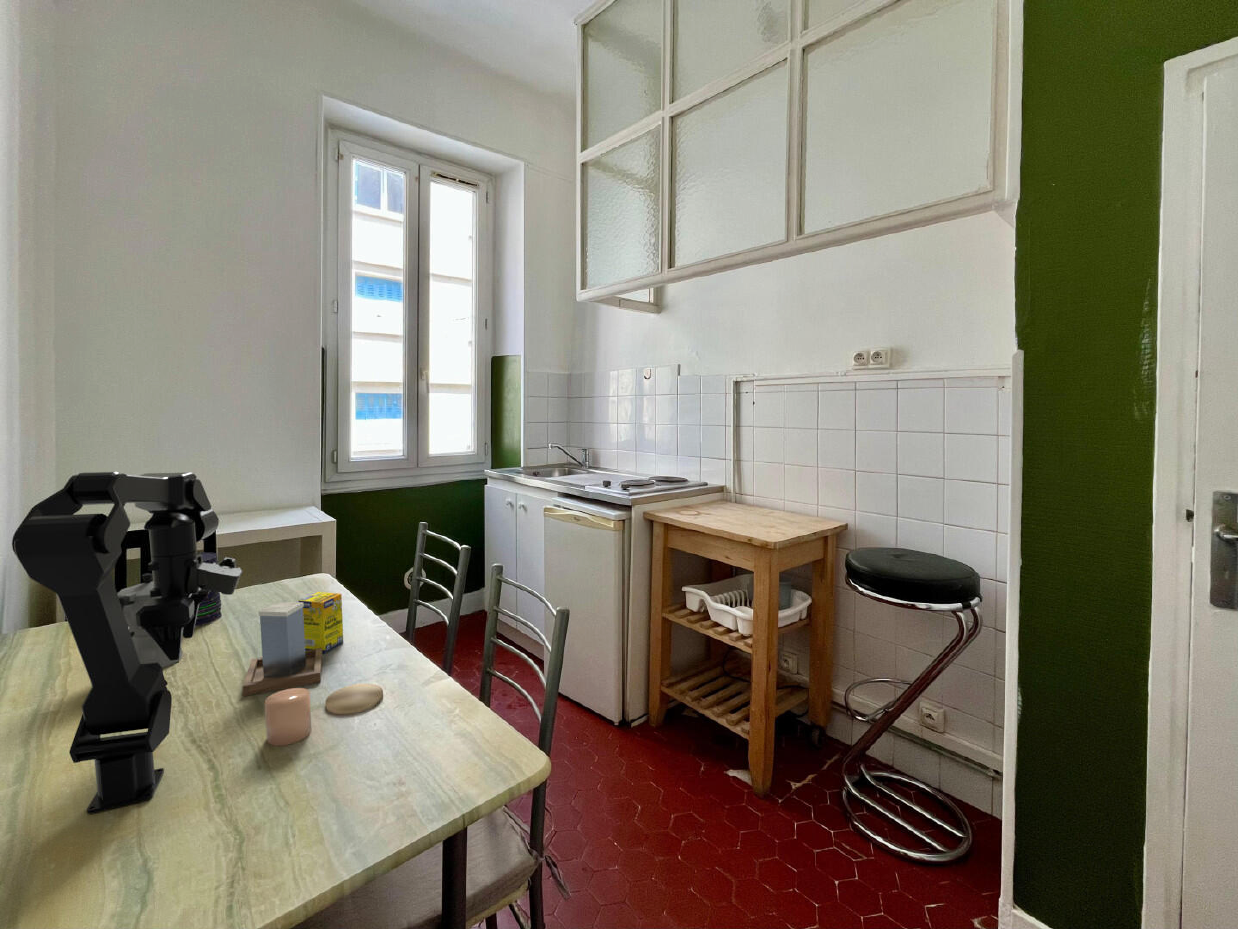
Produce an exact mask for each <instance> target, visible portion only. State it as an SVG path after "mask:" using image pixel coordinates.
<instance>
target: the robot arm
mask: <svg viewBox="0 0 1238 929" xmlns="http://www.w3.org/2000/svg"><path fill="white" fill-rule="evenodd" d="M126 504H134V507H135V508H138V509H141V510H142V511H143V510H144V511H147V512H148V513H149V514H152V515H151V517H150V518H149V519H148V520H147V521H146V522H145V524H144V526H143V529H144V530H145V531H148V533H149V534H148V537H149V545H150V546H149V548H150V560H151V561H150V562H149V563H148V564H147V572H152V582H153V584H154V588H153V589H152V590H151V591H150V598H151V597H160V596H161V598H157V599H150V600H149V601H148V602H147V603H146V604H144V605H143V606H142V607H141V609H140V610H139V611H138V612H137V613H136V623H137V626H139V627H141V628H142V629H145V631H146V632H147V633H148V634H149V635H150V636H151V637H152V638H153V639H154V641H155V642H156V643H157V644H158V646H159V647H160V648H161V649H162V651H163V652H164V653H165V654H166V656H167V657H168V658H169V660H171V661H173V660H178V659H179V658H180V651H181V649H182V643H183V642H182V641H183V638H184V639H191V638H193V637H194V633H195V627H196V626H195V623H196V618H197V613H198V608H199V604H200V602H201V601H202V600H203V599H204V598H205V597H206V596H207V595H208V594H209V592H210V591H216V592H219V593H220V594H222V595H226V596H228V595H229V596H231V595H233V594H234V592H235V591H236V589H237V587H238V584H239V581H240V578H241V576H242V573H243V570H242V568H241V567H238V566H237V561H236V559H235V558H231V557H227V556H226V557H224V558H223V559H222V560H220V562H218V565H217V564H216V563H213V564H209V563H203V556H202V555H200V553H201V552H198V545H197V543H198V542H200V541H202V540H204V539H206V538H209V536H211V535H212V534H213V533H215V532H216V530H217V529H218V527H219V524H220V523H219V522H220V520H219V517H218V515H217V514H216V512H215V511H214V510H213V509H212V505H211V502H210V500H209V497H208V496H207V493H206V490H205V488H204V486H203V484H202V481H201V480H200V479H197V475H196V474H195V473H193V472H190V471H189V472H157V473H156V472H155V473H154V472H153V473H143V474H139V475H135V474H125V473H120V472H119V471H99V472H96V471H95V472H94V471H92V472H87V471H86V472H80V473H78V474H73V475H72V476H70V478H69V479H68V480H67V482H66V483H65V485H64V486H63V488H61V489H59V490H58V491H57V492H55V493H53V494H51V495H50V496H48V497H46V498H45V499H43V500H42V501H40V502H38V503H37V504H35V505H34V506H33V507H31V508H30V510H29V511H28V513H26V514H27V515H26V516H25V517H24V519H23V520H22V522H21V523H20V525H19V526H18V527H17V529H16V530H15V531H14V534H13V536H12V538H11V539H12V541H11V547H12V551H13V552H14V555H15V556H16V558H17V560H18V562H19V563H20V564H21V566H22V568H23V569H24V570H23V571H25V572H26V574H27V575H28V578H30V579H31V580H32V581H34V582H36V583H38V584H39V585H41V586H42V587H45V588H47V589H48V590H50V591H52V592H53V593H55V594H56V596H57V598H58V600H59V603H60V606H61V608H62V611H63V613H64V616H65V618H66V621H67V624H68V626H69V629H70V631H71V634H72V637H73V639H74V641H75V645H76V648H77V649H78V652H79V655H80V658H81V660H82V662H83V665H84V668H85V672H86V674H87V676H88V679H89V681H90V685H91V688H90V690H89V692H88V694H87V696H86V697H85V699H84V701H83V703H82V704H81V712H82V714H81V717H80V721H79V722H78V726H77V729H76V731H75V734H74V736H73V737H74V738H73V740H72V743H71V746H70V749H69V752H68V753H69V756H70V758H71V761H72V762H73V764H77V763H80V762H85V761H94V769H95V779H96V790H97V792H96V794H95V795H94V797H93V798H92V800H91V801H90V803H89V805H88V806H87V808H86V813H87V814H93V813H98V812H102V811H105V810H110V809H115V808H119V807H123V806H128V805H132V804H136V803H140V802H145V801H148V800H150V799H152V798H153V797H154V795H155V792H156V791H157V788H158V786H159V784H160V782H161V779H162V778H163V776H164V773H165V768H161V767H160V768H156V769H155V763H154V762H155V761H154V752H155V751H156V749H157V748H158V747H159V746H160V744H162V742H163V741H164V740H165V739H166V737H167V736H168V735H169V734H170V726H171V716H172V715H171V714H172V701H173V700H172V699H173V698H172V694H171V691H170V690H168V687H167V686H168V684H169V683H168V681H167V680H166V679H165V676H164V672H163V668H162V667H161V666H160V665H159V664H158V663H149V664H141V663H140V661H139V658H138V655H137V652H136V649H135V646H134V643H133V640H132V637H131V634H130V631H129V627H128V625H127V622H126V619H125V616H124V613H123V610H122V607H121V604H120V601H119V598H118V595H117V594H118V592H117V589H116V586H115V583H114V580H113V578H112V577H113V576H112V571H113V569H114V568H115V565H116V564H117V563H118V562H117V561H119V558H120V556H121V554H122V552H123V551H122V547H121V546H122V545H121V544H122V542H123V540H124V538H125V537H126V534H127V533H128V532H129V529H130V527H131V521H130V519H129V516H128V514H127V512H126V510H125V505H126ZM91 505H93V506H94V505H97V506H98V505H113V506H112V508H111V509H110V512H109V513H108V514H107V515H106V514H104V513H83V514H81V513H80V514H76V513H78V512H79V511H80V510H81V509H82V508H83V506H91ZM200 588H201V589H204V590H200ZM141 730H142V731H143V730H147V731H143V732H142V731H141ZM133 731H141V732H134V733H128V734H120V735H119V734H118V733H126V732H133ZM111 734H118V735H111ZM103 735H111V736H105V737H104V736H103ZM101 736H103V737H101Z"/></svg>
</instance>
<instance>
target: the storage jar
mask: <svg viewBox="0 0 1238 929" xmlns="http://www.w3.org/2000/svg"><path fill="white" fill-rule="evenodd" d="M199 553H200V555H202V556H203V563H209V564H213V563H216V564H217V565H218V564H219V560H218V553H216V552H199ZM200 590H204V589H201V588H200ZM221 610H222V600H221V592H216V591H210V592H209V594H208V595H207V596H206V597H205V598H204V599H203V600H202V601H201V602H200V604H199V608H198V613H197V618H196V623H195V627H198V626H204V625H207V624H210V623H214V622H216V621H217V620H219V619H220V618H222V616H223V615H222V612H221Z"/></svg>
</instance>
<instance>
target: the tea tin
mask: <svg viewBox="0 0 1238 929" xmlns="http://www.w3.org/2000/svg"><path fill="white" fill-rule="evenodd" d="M303 607H304V603H303V602H297V601H295V602H294V601H276V602H275V603H272V604H270V605H268V606H267V607H265V608H263V609H261V610H259V611H258V616H259V620H260V621H259V622H260V623H259V625H260V641H261V656H262V658H263V674H264V678H280V677H286V676H291V675H295V674H297V673H298V672H299V671H300V670H302V669H303V668H304V667H306V655H305V637H304V619H303Z"/></svg>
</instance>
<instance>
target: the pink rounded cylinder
mask: <svg viewBox="0 0 1238 929" xmlns="http://www.w3.org/2000/svg"><path fill="white" fill-rule="evenodd" d="M310 693H311V692H310V690H308V689H307V688H303V687H291V688H285V689H281V690H278V691H276V692H275V693H272V694H271V695H269V696H268V697H267V698H266V699H265V700H264V713H265V730H266V731H265V732H266V742H267V743H268V744H269V745H271V746H275V747H279V746H280V747H281V746H288V745H293V744H295V743H297V742H300V741H302V740H304V739H305V738H307V737H308V736H310V734H311V733H312V713H311V712H312V711H311V694H310Z"/></svg>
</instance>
